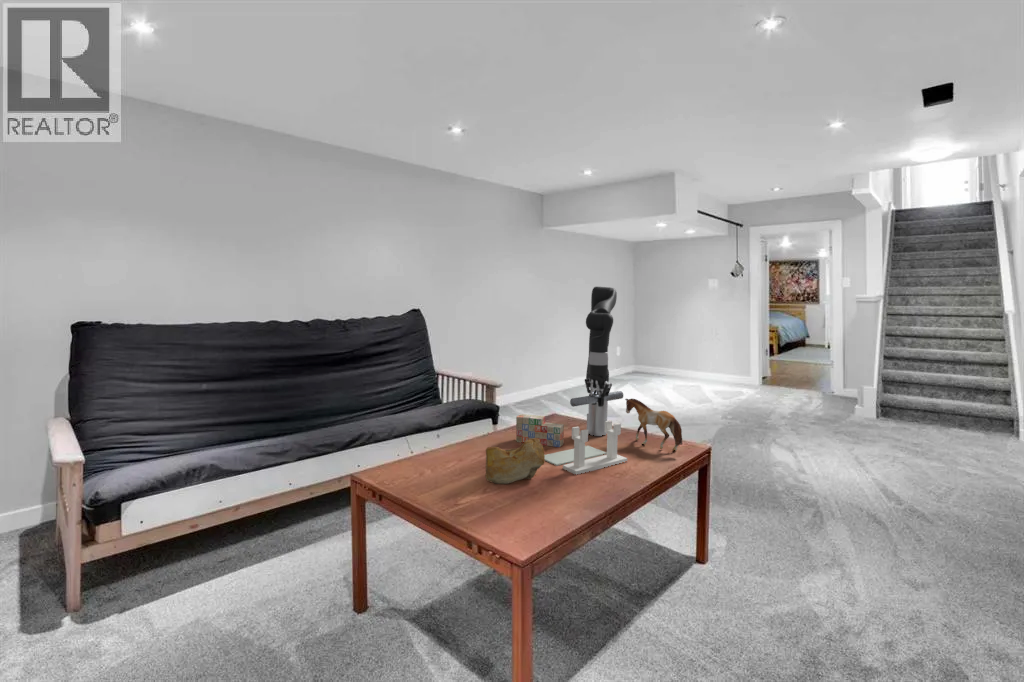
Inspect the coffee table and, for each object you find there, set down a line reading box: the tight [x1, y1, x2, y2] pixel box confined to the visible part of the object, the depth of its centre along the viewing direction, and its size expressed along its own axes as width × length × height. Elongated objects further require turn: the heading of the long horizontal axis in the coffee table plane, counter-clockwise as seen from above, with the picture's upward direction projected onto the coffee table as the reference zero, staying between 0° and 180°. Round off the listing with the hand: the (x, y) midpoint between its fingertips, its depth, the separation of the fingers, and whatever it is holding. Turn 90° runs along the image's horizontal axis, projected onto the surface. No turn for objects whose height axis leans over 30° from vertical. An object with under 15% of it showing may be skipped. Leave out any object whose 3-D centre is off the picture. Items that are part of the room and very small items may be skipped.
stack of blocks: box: [515, 413, 565, 448], centre depth 239 cm, size 21×6×12 cm, turn 68°
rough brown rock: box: [485, 438, 545, 485], centre depth 196 cm, size 23×17×15 cm
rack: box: [562, 420, 628, 476], centre depth 209 cm, size 8×28×16 cm, turn 124°
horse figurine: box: [624, 398, 683, 451], centre depth 234 cm, size 31×8×21 cm, turn 39°
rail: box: [569, 390, 624, 407], centre depth 207 cm, size 26×3×3 cm, turn 124°
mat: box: [544, 445, 607, 467], centre depth 222 cm, size 12×28×1 cm, turn 124°
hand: (597, 405), depth 208 cm, fingers closed on rail, 3 cm apart
